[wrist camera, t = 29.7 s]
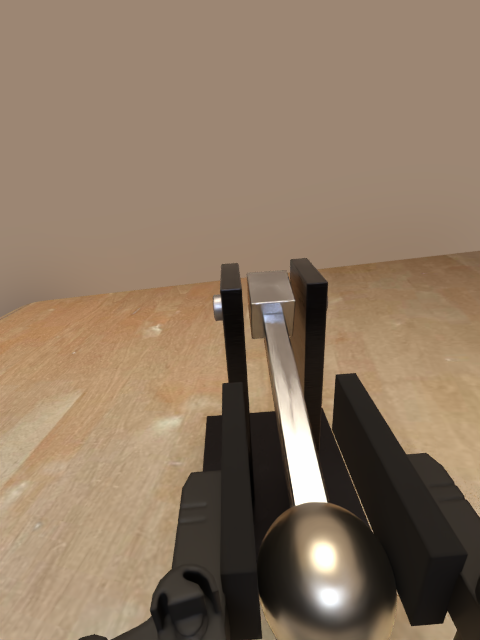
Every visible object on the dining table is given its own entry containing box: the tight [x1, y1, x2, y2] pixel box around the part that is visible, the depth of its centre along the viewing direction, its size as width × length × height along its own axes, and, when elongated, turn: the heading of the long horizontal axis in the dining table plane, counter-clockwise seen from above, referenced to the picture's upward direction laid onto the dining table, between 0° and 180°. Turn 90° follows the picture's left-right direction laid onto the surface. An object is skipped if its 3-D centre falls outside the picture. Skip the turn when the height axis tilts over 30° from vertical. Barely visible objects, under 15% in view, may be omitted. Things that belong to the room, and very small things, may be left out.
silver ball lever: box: [247, 270, 397, 640], centre depth 13 cm, size 15×4×4 cm, turn 2°
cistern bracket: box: [203, 258, 370, 563], centre depth 21 cm, size 12×10×16 cm
